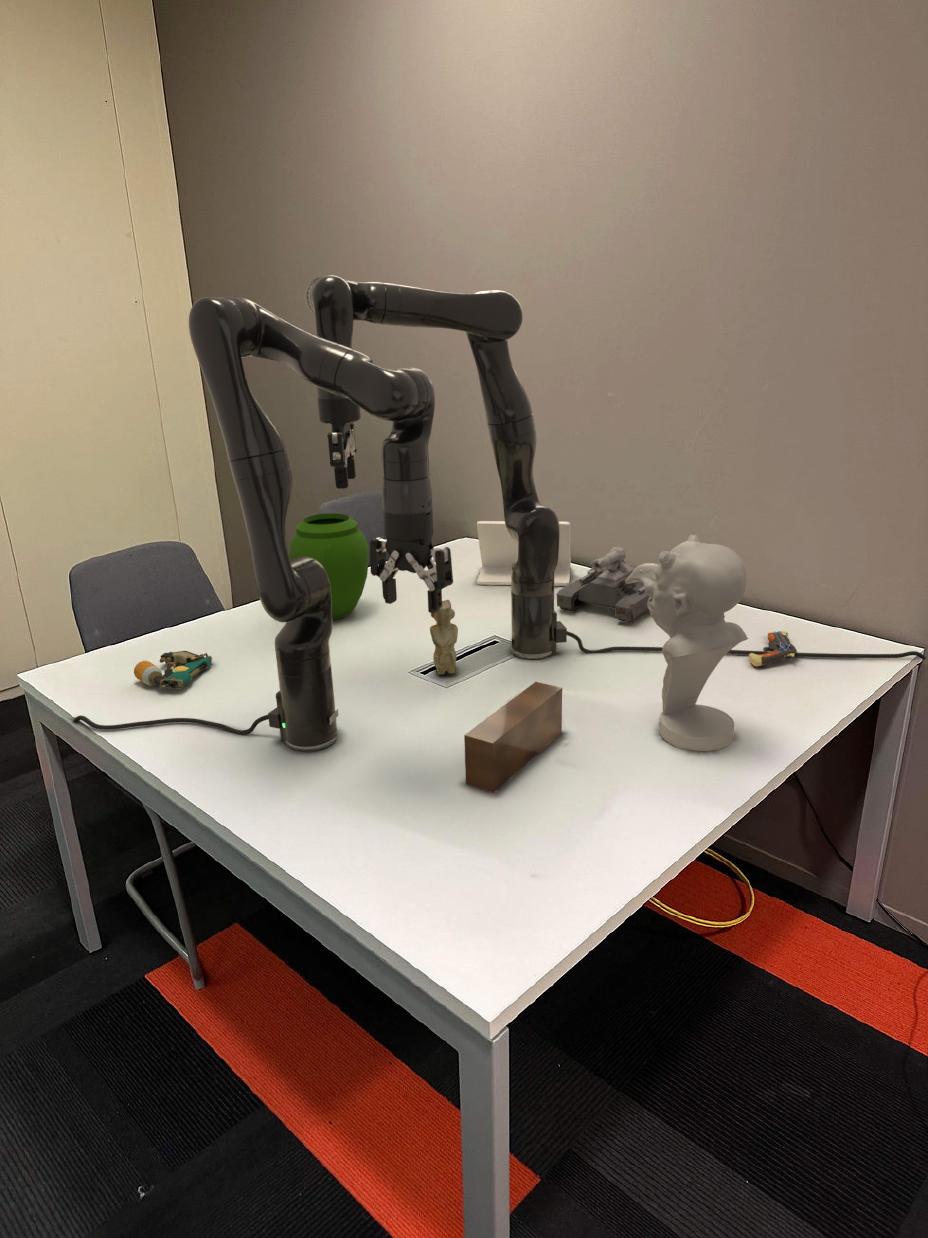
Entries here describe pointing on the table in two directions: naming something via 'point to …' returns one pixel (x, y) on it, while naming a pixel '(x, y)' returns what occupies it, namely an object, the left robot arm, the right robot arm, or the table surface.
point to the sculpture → (444, 639)
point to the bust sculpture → (694, 634)
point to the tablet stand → (514, 554)
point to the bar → (512, 736)
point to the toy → (607, 589)
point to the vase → (335, 556)
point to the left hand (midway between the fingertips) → (412, 606)
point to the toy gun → (774, 649)
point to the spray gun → (172, 669)
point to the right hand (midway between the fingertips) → (346, 483)
